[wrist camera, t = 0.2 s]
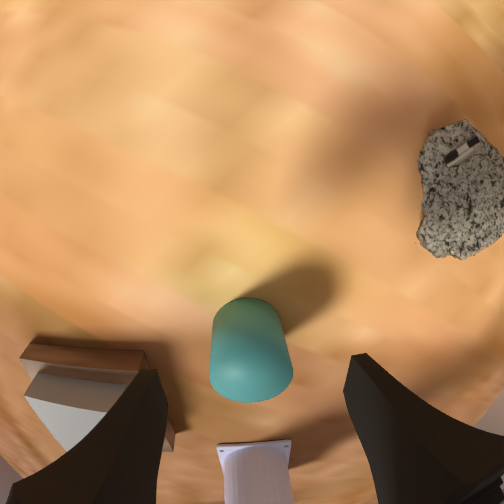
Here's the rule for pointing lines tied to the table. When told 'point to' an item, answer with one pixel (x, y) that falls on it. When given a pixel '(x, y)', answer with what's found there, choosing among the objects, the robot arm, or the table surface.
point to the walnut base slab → (89, 368)
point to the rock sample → (460, 192)
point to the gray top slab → (71, 405)
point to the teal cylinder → (249, 352)
